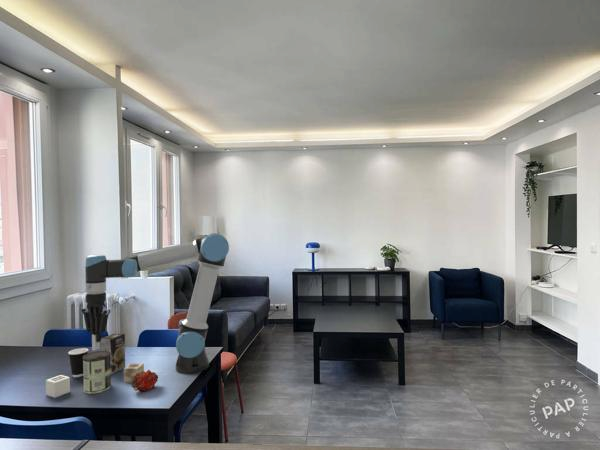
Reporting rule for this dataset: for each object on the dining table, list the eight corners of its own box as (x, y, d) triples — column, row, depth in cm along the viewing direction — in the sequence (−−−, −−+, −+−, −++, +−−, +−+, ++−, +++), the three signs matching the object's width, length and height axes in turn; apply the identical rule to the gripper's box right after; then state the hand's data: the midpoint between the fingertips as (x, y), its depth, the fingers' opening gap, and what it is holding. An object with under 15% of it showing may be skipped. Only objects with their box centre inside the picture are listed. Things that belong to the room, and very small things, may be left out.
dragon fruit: (129, 399, 151) (155, 392, 161) (141, 390, 148) (167, 383, 158) (124, 378, 155) (149, 373, 165) (135, 369, 152) (161, 364, 162)
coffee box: (113, 374, 173) (112, 339, 173) (100, 373, 174) (100, 338, 174) (126, 367, 182) (125, 333, 182) (114, 366, 183) (113, 332, 183)
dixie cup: (65, 375, 172) (65, 351, 172) (84, 370, 178) (84, 346, 178) (72, 380, 167) (72, 355, 167) (91, 374, 173) (91, 350, 173)
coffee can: (102, 381, 165) (102, 349, 165) (116, 386, 160) (115, 353, 160) (78, 390, 157) (77, 356, 157) (91, 396, 151) (91, 360, 151)
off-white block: (69, 391, 155) (69, 376, 155) (54, 398, 150) (54, 382, 150) (61, 389, 158) (61, 374, 158) (46, 395, 153) (45, 379, 153)
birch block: (143, 376, 170) (143, 363, 170) (137, 382, 164) (137, 368, 164) (130, 376, 170) (130, 363, 170) (123, 382, 164) (123, 368, 164)
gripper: (75, 293, 156) (76, 350, 156) (101, 294, 153) (101, 353, 152) (91, 290, 164) (91, 345, 164) (115, 291, 160) (115, 348, 160)
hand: (96, 349), depth 158 cm, fingers closed
